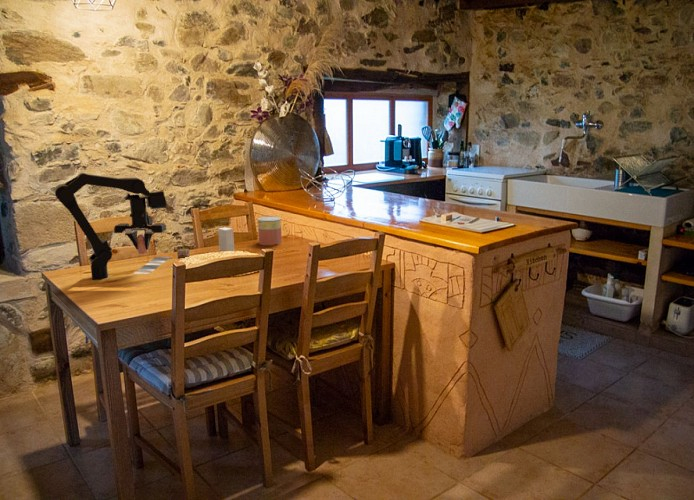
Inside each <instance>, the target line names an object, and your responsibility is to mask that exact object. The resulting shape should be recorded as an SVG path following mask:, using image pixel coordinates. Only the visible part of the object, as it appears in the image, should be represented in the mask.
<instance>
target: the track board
mask: <svg viewBox="0 0 694 500" xmlns="http://www.w3.org/2000/svg"><path fill="white" fill-rule="evenodd" d="M171 259H173V258H172V257H170V256H162V257H161V256H159V257H158V256H155V257H154V258H152V259H151V260H149V261H148V262H147V263H145V264H144V265H143V266H142V267H141V266H140V268H139V269H137V270H136V271H134V272H133V273H132V274H133V275H147V274H148V275H150V274H151V273H152V272H153V271H155V270H156V269H157V268H159V267H161V266H162V265H163V264H164V263H165V262H166V261H169V260H171Z"/></svg>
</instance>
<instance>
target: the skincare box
mask: <svg viewBox="0 0 694 500" xmlns="http://www.w3.org/2000/svg"><path fill="white" fill-rule="evenodd" d="M217 232H218V248H219V251H218V252H219V253H220V251H234V252H235V242H234V241H235V240H234V239H235V238H234V236H235V235H234V229H233V228H231V227H230V228H229V227H220V228H218V230H217Z"/></svg>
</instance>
